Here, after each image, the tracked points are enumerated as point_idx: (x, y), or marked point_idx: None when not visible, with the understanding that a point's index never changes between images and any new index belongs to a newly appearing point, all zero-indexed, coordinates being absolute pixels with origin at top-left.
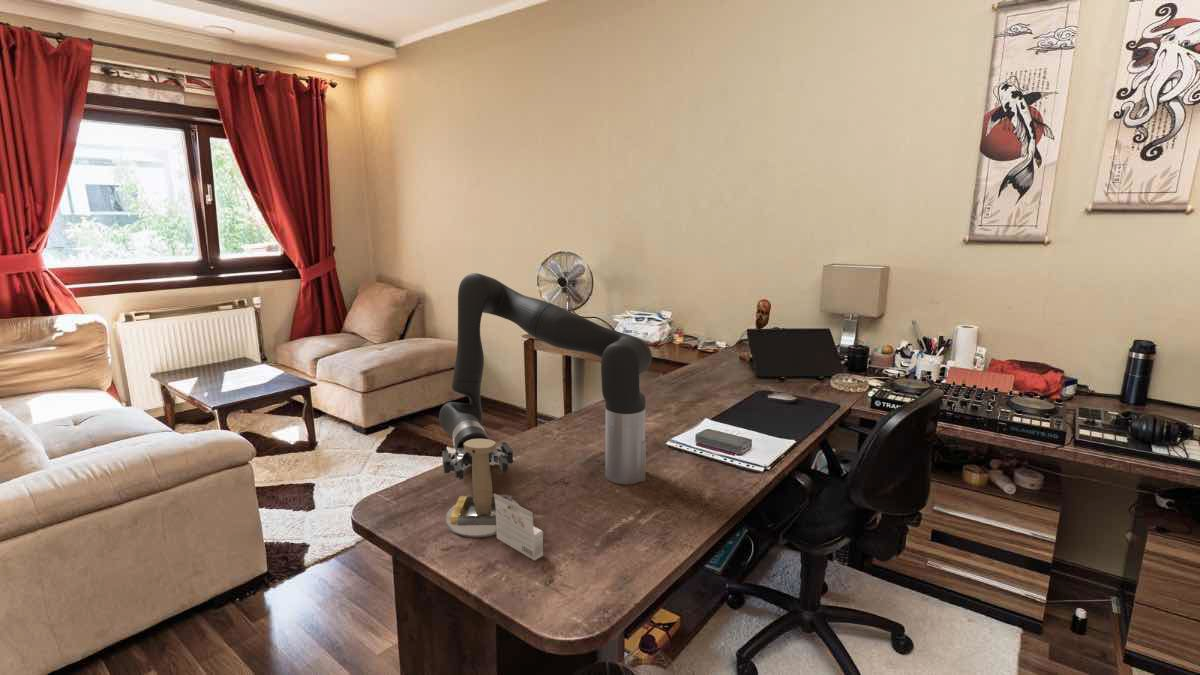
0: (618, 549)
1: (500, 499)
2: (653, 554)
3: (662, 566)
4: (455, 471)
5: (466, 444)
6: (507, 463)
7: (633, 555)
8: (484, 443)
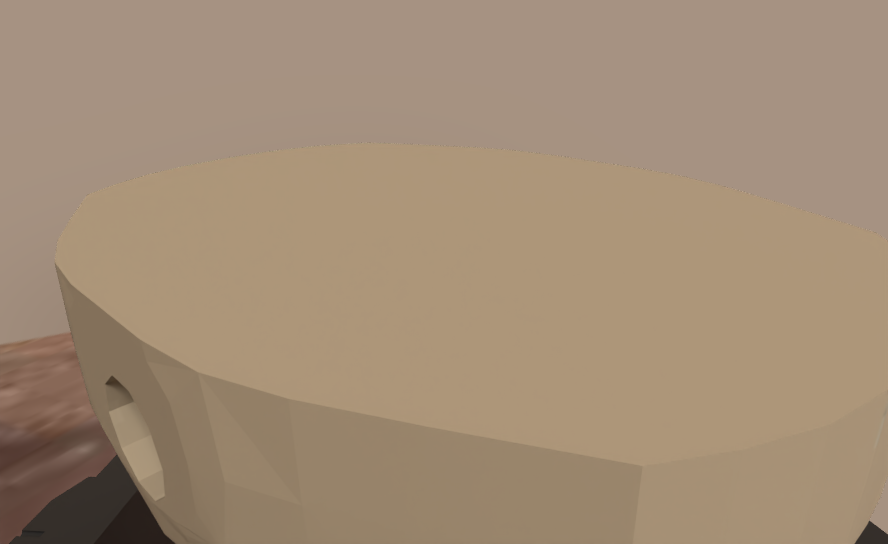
0: (62, 411)
1: None
2: (16, 372)
3: (62, 342)
4: (881, 539)
5: (790, 231)
6: (90, 477)
7: (63, 383)
8: (332, 197)
